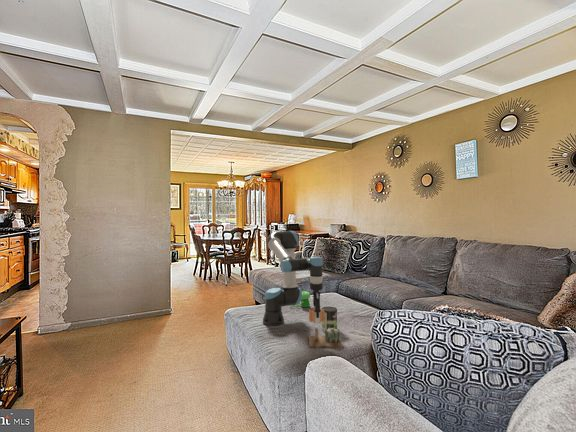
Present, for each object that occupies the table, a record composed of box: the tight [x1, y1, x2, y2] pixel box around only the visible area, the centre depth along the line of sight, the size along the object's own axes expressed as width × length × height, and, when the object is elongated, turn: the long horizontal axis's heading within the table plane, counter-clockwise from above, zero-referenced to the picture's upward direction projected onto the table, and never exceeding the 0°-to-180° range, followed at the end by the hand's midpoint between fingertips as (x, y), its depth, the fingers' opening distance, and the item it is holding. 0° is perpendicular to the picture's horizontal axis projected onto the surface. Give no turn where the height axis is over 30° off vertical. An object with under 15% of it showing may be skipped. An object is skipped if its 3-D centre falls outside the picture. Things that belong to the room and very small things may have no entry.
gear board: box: [307, 327, 344, 349], centre depth 182 cm, size 19×14×8 cm
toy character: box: [288, 290, 311, 309], centre depth 250 cm, size 10×18×13 cm, turn 89°
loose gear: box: [308, 307, 324, 324], centre depth 182 cm, size 9×9×6 cm
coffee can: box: [321, 306, 338, 333], centre depth 201 cm, size 10×10×14 cm
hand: (316, 319), depth 182 cm, fingers closed on loose gear, 9 cm apart
